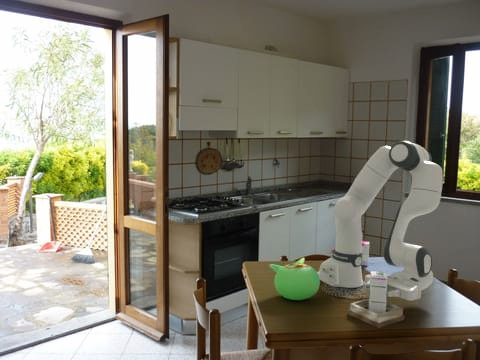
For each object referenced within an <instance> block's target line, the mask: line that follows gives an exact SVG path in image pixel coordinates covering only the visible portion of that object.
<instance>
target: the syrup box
mask: <svg viewBox="0 0 480 360" xmlns="http://www.w3.org/2000/svg"><path fill="white" fill-rule="evenodd" d="M369 275H370V287H369V289H368V290H369V291H368V298H369V307H368V310H369V311H372V312H374V313H376V314H382V313H385V312H386V302H387V298H388V296H386V292H387V277H388V275H387V272H384V271H370V273H369Z"/></svg>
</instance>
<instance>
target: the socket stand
mask: <svg viewBox="0 0 480 360" xmlns="http://www.w3.org/2000/svg"><path fill="white" fill-rule="evenodd" d="M368 307H369V297H368V298H365V299H362V300H359V301H354V302H352V303H349V309H347V315H349V316H351V317H353V318H355V319H357V320H360V321H361V322H364V323H366V324H369V325H371V326H373V327H375V328H378V329H381V328H384V327H387V326H390V325H393V324H397V323H398V322H401V321H403V320H405V317H406V316H405V315H404V313H403V312H404V308H403V307H400V306H398V305H395V304H393V303H390V302H388V301H386V312H385V313H382V314H376V313H374V312H372V311H369V310H368Z"/></svg>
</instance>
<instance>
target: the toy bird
mask: <svg viewBox="0 0 480 360" xmlns="http://www.w3.org/2000/svg"><path fill="white" fill-rule="evenodd" d="M305 260H306V259H305V257H301V258H300V259H298V261H296V262H295V263H294V262H293V263H289V264H285V265H284V266H282V265H278V264H273V263H271V264H269V265H268V266H269V268H270V269H272V271H274V272H275V273H276V274H275V276H274V279H273V280H274V282H273V283H274V284H273V285H274V287H275V290H276V291H277V293H278V294H279V295H280V296H282V297H283V298H285V299H287V300H293V301H302V300H306V299H307V300H308V299H309V298H312V297H313V296H314V295H316V293H317V292H318V290H319V288H320V284H321V280H320V279H319V275H318V273H317V272H318V271H317V270H316V269H314V268H313V267H312V266H310V265H308V264H305Z"/></svg>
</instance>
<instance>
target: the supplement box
mask: <svg viewBox="0 0 480 360" xmlns="http://www.w3.org/2000/svg"><path fill="white" fill-rule="evenodd" d="M361 252H362V262H361V267H366V268H367V267H369V258H370V241H367V240H365V241H364V240H362V250H361Z"/></svg>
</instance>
